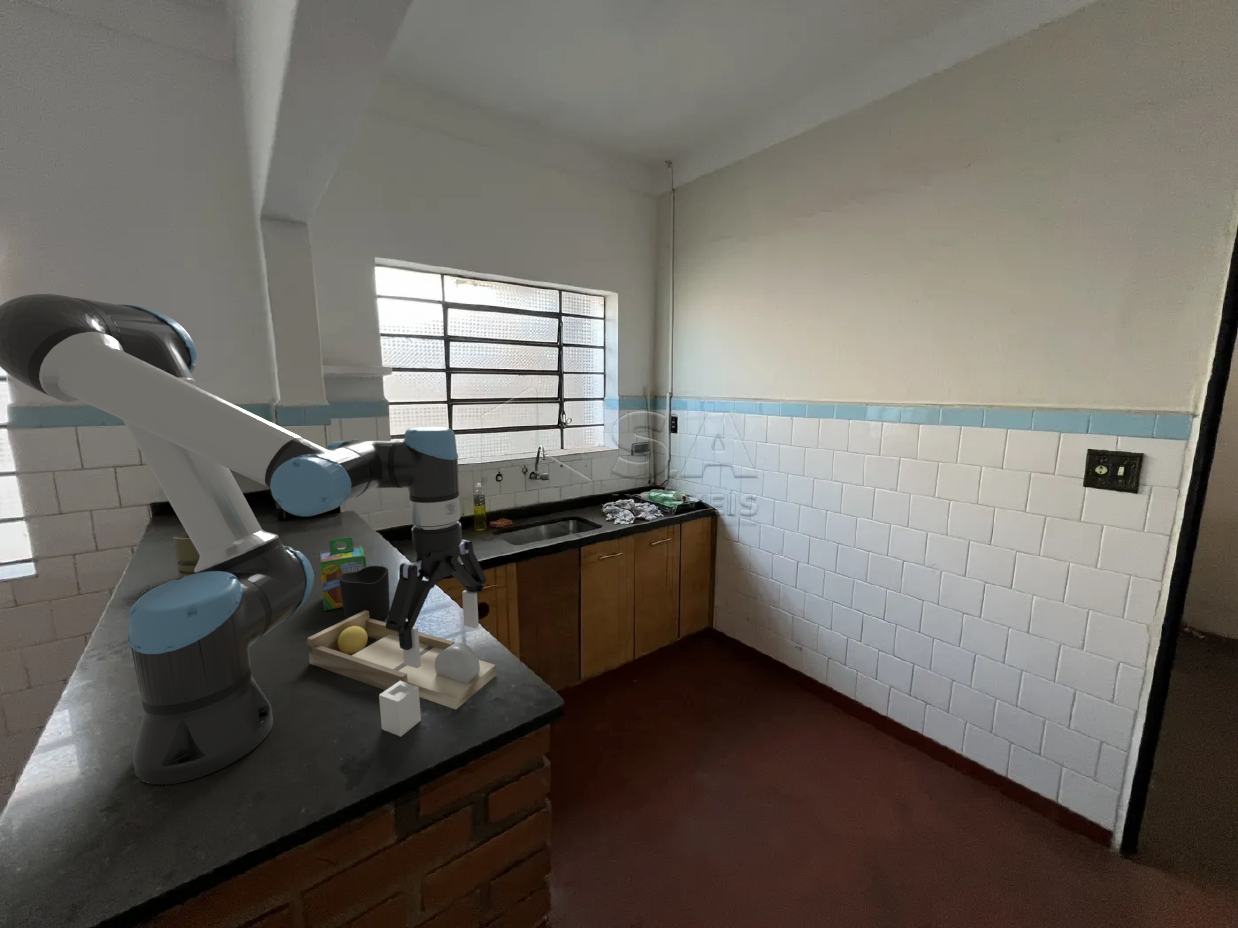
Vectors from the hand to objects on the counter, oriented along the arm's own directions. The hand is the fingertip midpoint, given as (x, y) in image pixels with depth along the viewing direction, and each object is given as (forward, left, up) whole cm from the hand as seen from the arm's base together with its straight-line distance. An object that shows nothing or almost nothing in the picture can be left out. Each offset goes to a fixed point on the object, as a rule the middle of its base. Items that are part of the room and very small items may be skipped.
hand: (444, 644), depth 83 cm
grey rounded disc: (0, -3, -7) cm, 7 cm away
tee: (-11, -2, -7) cm, 13 cm away
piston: (+10, +90, -7) cm, 91 cm away
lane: (0, +10, -7) cm, 12 cm away
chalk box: (+15, +44, -7) cm, 47 cm away
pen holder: (+11, +32, -7) cm, 35 cm away
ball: (0, +23, -4) cm, 23 cm away
